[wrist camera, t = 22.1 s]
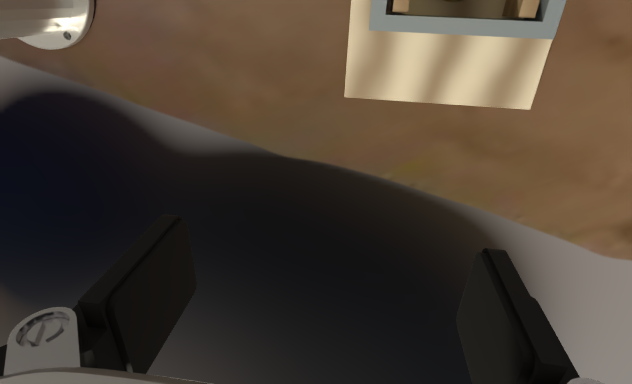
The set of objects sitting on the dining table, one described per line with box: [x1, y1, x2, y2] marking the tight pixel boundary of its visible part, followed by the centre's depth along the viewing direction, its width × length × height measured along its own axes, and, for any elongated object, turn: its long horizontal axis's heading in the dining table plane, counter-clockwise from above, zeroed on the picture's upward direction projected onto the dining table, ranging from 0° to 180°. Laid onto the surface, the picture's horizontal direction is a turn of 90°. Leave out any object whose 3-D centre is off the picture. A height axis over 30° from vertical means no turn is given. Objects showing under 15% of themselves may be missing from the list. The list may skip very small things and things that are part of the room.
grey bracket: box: [369, 0, 566, 39], centre depth 30 cm, size 14×4×4 cm, turn 88°
